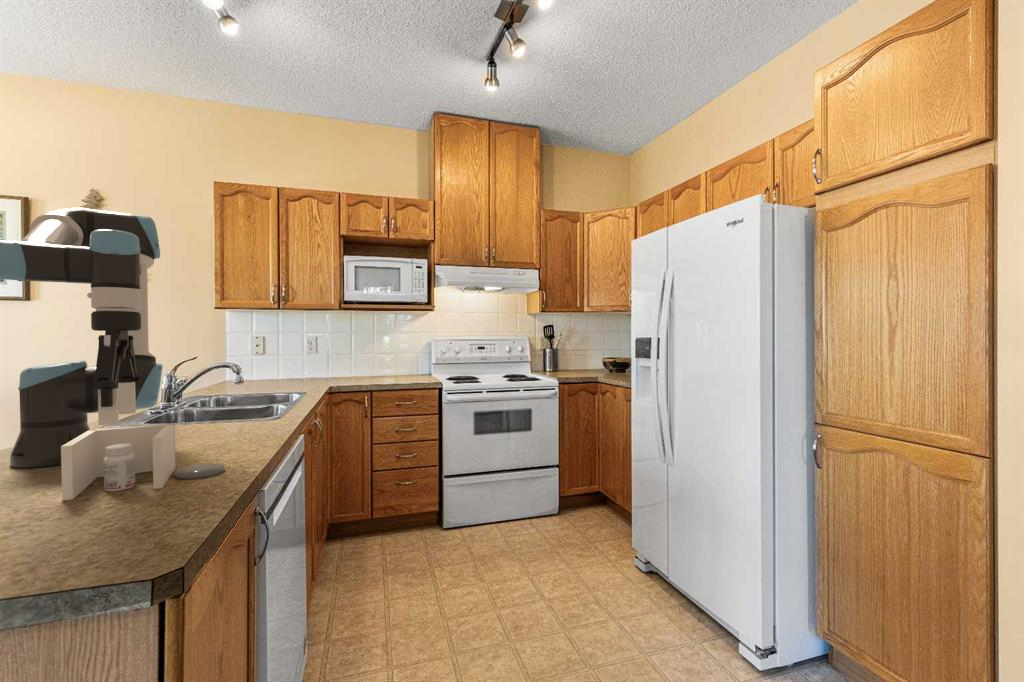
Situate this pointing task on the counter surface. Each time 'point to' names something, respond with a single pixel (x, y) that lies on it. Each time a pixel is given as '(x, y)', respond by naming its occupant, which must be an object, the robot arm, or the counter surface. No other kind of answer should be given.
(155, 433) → the cubby
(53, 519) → the counter surface
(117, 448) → the pill bottle
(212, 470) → the coaster
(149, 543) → the counter surface
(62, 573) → the counter surface
